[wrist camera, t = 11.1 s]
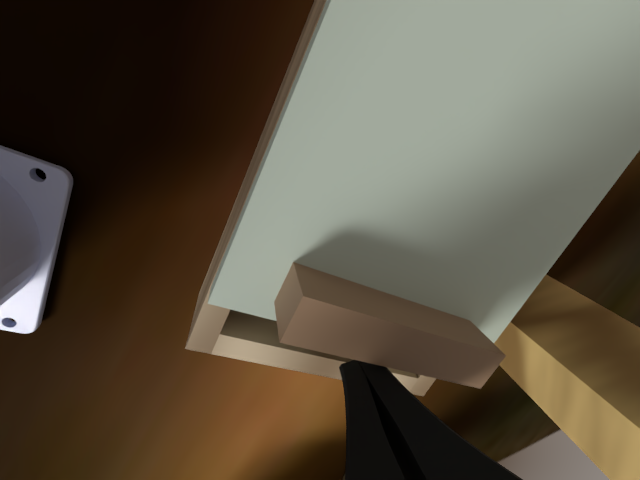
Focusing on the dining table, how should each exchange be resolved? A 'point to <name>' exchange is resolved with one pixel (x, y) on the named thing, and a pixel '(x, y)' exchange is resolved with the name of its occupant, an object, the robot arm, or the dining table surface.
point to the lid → (433, 174)
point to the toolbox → (252, 331)
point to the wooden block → (580, 372)
